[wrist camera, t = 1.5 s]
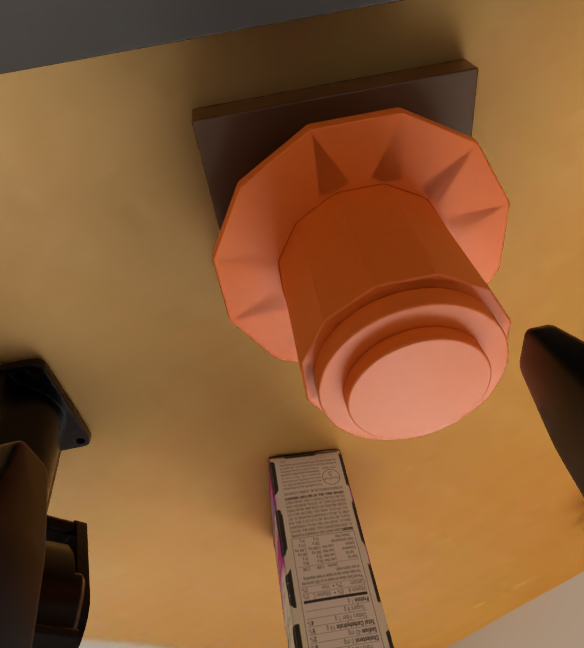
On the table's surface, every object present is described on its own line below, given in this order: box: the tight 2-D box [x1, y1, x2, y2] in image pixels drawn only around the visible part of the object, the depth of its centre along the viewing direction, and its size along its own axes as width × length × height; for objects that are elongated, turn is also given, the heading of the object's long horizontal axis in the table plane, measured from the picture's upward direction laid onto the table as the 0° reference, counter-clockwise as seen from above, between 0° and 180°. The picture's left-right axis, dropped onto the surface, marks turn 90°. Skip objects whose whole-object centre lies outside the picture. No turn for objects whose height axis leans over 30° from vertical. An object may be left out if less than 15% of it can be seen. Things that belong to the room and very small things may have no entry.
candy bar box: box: [269, 450, 394, 648], centre depth 30 cm, size 11×5×16 cm, turn 1°
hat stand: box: [192, 59, 478, 230], centre depth 19 cm, size 10×10×9 cm
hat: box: [213, 107, 511, 440], centre depth 17 cm, size 10×10×7 cm
